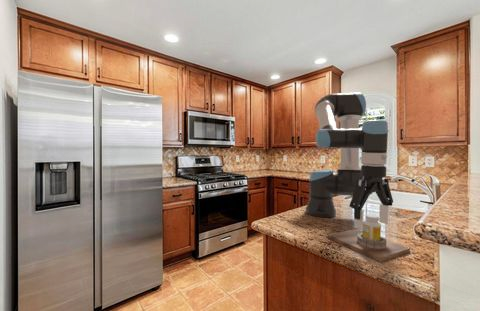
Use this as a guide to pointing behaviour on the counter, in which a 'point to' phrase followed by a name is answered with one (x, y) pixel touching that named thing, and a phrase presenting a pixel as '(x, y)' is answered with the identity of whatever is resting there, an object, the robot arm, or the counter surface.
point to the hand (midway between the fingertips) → (371, 225)
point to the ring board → (365, 250)
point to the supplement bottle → (371, 228)
